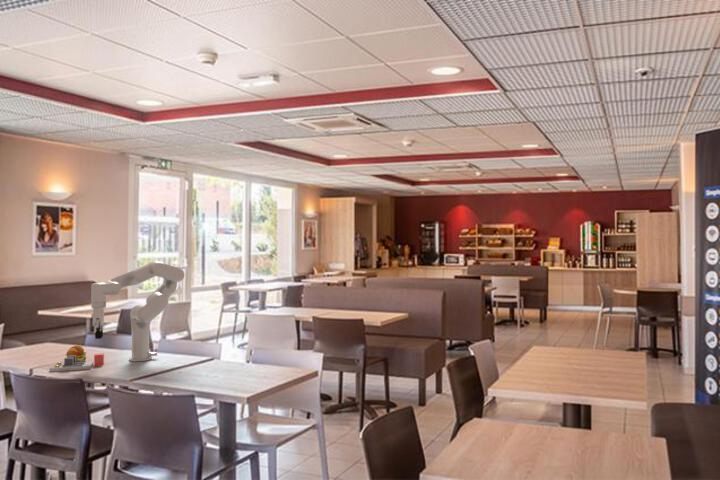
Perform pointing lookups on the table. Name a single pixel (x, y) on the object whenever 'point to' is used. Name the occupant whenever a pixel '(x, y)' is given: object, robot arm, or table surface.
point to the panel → (71, 366)
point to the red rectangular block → (99, 359)
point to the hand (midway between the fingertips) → (99, 337)
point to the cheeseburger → (77, 353)
